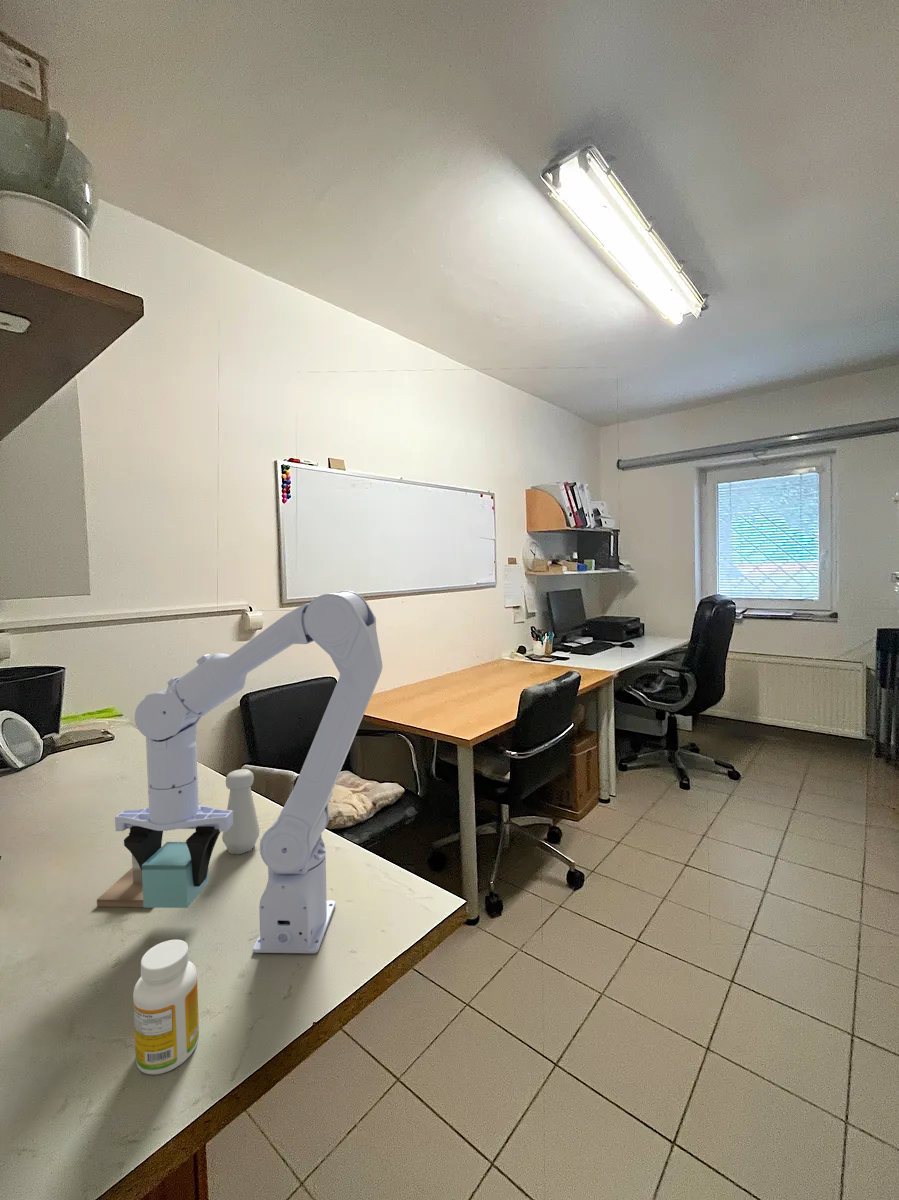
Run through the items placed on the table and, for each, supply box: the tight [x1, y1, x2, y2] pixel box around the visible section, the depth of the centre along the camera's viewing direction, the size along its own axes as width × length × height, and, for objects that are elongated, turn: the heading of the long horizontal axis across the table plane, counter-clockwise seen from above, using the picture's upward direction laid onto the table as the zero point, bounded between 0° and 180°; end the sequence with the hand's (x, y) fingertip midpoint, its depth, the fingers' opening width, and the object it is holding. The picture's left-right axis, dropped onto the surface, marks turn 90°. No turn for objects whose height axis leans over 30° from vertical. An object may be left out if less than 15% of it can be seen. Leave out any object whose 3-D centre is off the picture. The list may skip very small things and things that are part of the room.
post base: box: [96, 854, 143, 908], centre depth 76 cm, size 10×8×6 cm
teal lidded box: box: [142, 841, 210, 909], centre depth 68 cm, size 6×6×6 cm
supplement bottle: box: [132, 939, 200, 1075], centre depth 50 cm, size 5×5×10 cm
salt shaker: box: [221, 768, 261, 855], centre depth 86 cm, size 6×6×13 cm
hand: (177, 881), depth 68 cm, fingers closed on teal lidded box, 6 cm apart
